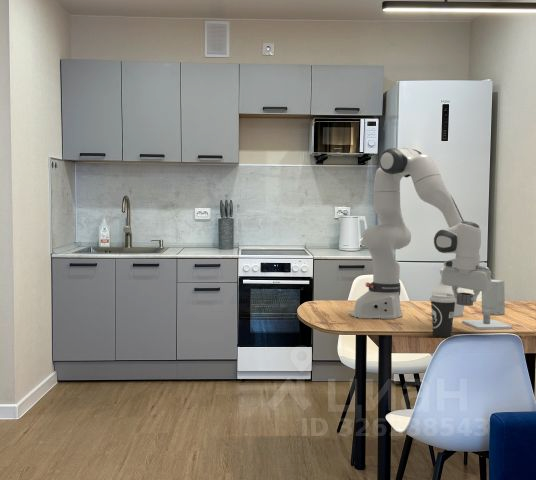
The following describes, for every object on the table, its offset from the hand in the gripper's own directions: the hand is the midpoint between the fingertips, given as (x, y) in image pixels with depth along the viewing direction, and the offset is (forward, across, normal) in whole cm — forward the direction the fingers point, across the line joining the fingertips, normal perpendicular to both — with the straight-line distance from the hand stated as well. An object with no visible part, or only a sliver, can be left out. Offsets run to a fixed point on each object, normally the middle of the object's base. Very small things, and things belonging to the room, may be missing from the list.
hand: (464, 299), depth 249 cm
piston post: (+12, -1, -14) cm, 18 cm away
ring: (+2, 0, 0) cm, 2 cm away
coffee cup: (+12, -2, +15) cm, 19 cm away
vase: (+13, +23, -22) cm, 34 cm away
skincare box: (+12, +13, -41) cm, 45 cm away
